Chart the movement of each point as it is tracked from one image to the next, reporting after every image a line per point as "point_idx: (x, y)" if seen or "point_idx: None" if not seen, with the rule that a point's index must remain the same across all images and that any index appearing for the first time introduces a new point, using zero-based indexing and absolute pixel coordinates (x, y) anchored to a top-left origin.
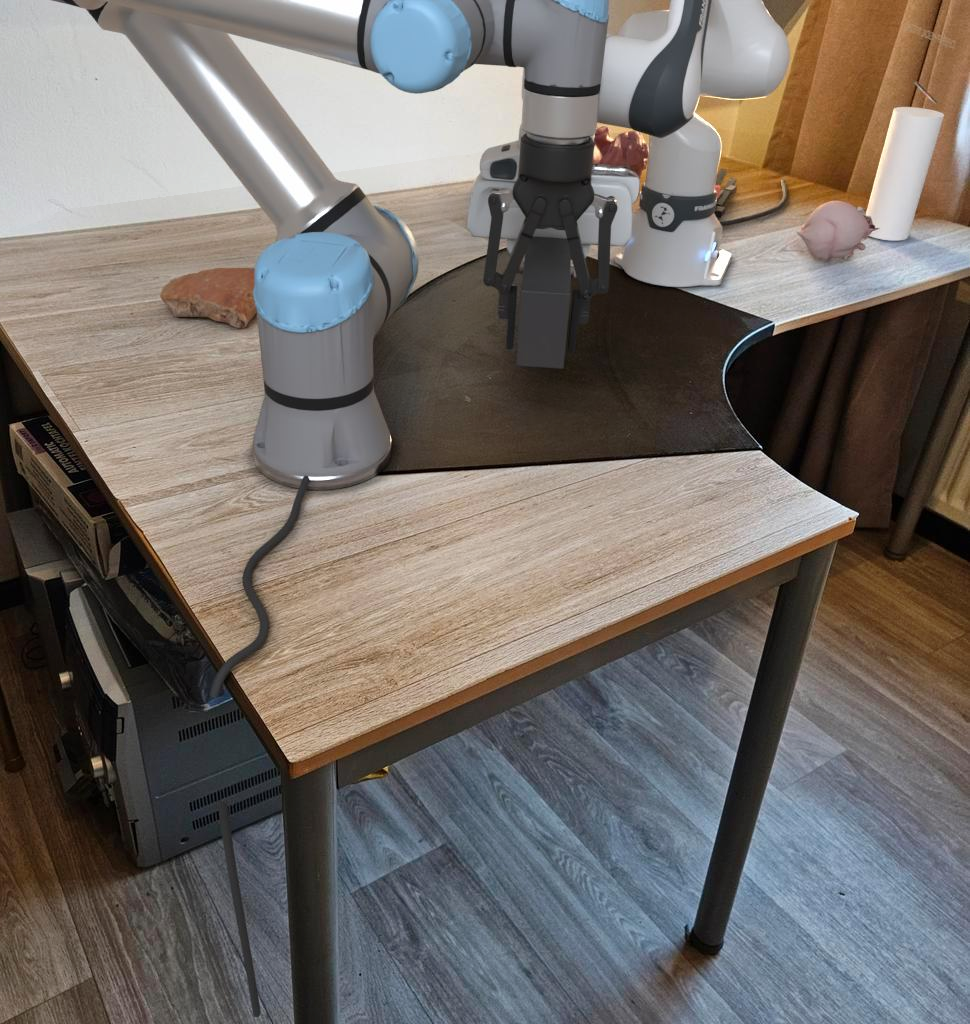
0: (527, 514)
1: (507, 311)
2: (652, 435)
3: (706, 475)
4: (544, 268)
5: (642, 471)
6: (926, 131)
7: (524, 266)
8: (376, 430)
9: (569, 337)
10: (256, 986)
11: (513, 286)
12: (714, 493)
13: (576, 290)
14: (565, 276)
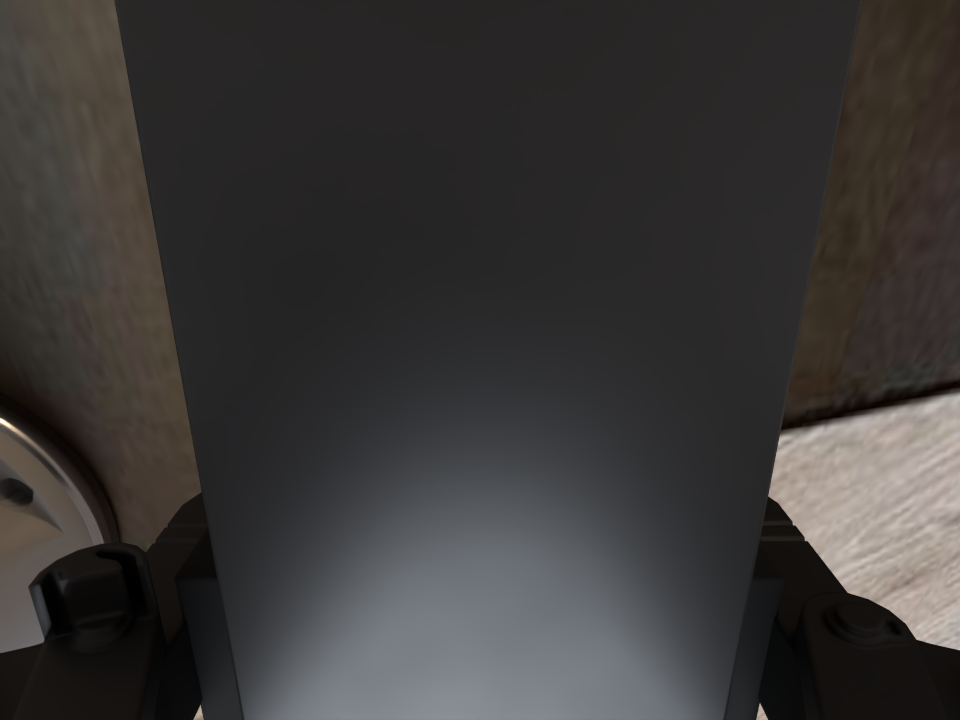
0: None
1: None
2: (851, 302)
3: (937, 490)
4: (453, 511)
5: (769, 493)
6: None
7: (208, 485)
8: (32, 641)
9: None
10: None
11: (202, 592)
12: (926, 560)
13: (753, 582)
14: (681, 680)
